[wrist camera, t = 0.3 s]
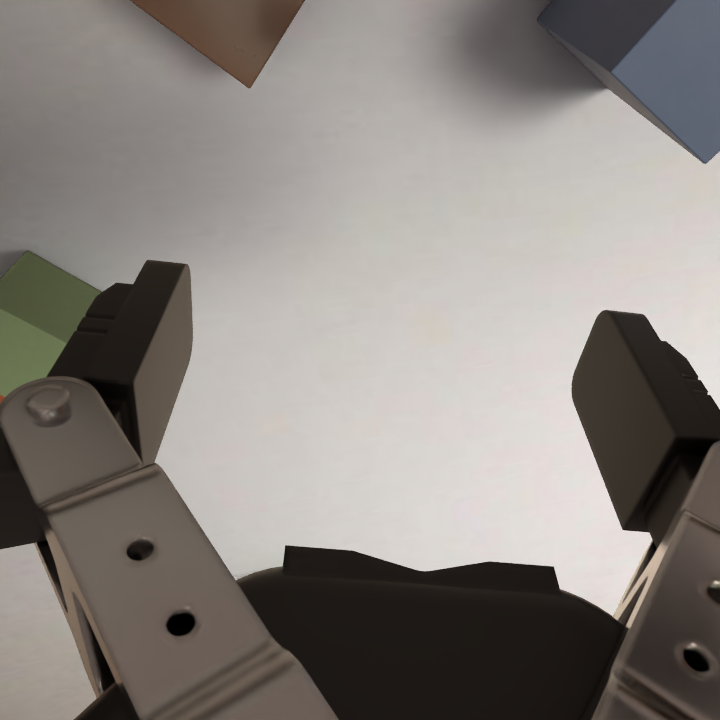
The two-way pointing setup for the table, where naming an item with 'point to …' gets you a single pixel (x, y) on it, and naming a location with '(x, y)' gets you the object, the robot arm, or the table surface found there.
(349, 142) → the table surface
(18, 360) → the block
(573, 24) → the tall block
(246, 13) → the block
